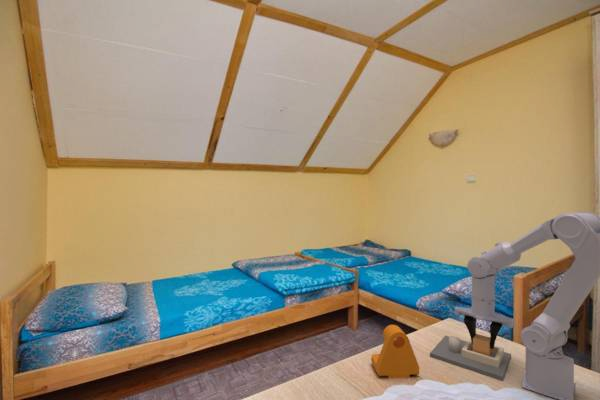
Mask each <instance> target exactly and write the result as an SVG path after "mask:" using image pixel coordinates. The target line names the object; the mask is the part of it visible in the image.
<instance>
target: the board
mask: <svg viewBox="0 0 600 400" xmlns="http://www.w3.org/2000/svg"><path fill="white" fill-rule="evenodd" d="M429 357H430V358H433V359H436V360H439V361H442V362H446V363H447V364H451V365H455V366H458V367H460V368H463V369H466V370H469V371H471V372H476V373H478V374H481V375H484V376H487V377H490V378H494V379H497V380H499V381H504V378H505V375H506V372H507V370H508V367H509V364H510V362H511V359H512V354H511V353H509V352H506V351H505V348H504V347H501V346H498V345H494V348H493V349H492V354H491V356H487V355H484V354H480V353H477V352H473V344H472V341H471V338H468V339H467V341H466V340H463V339H461V338H459V337H458V336H452V335H451V336H448V335H444V337H442V339H441V340H440V341H439V342H438V343H437V345H436V346H435V347H434V348H433V349H432V350H431V351H430V352H429Z"/></svg>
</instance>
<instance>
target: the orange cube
mask: <svg viewBox="0 0 600 400" xmlns="http://www.w3.org/2000/svg"><path fill="white" fill-rule="evenodd" d="M490 339H491V336H486V335H483V334H478V333H476V335H475V336H474V338H473V352H477V353H480V354H484V355H487V356H491V354H492V349H490Z"/></svg>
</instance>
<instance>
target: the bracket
mask: <svg viewBox="0 0 600 400" xmlns="http://www.w3.org/2000/svg"><path fill="white" fill-rule="evenodd" d="M382 337H383V341H384V342H383V344H382V347H381V350H380V352H379V353H374V354H371V364H372V366H373V368H374V370H375V372H376V374H377V375H378V376H379V377H380V376H386V377H387V378H388V379H405V378H410V375H419V374H420V365H419V363H418V360H417V357H416V355H415V352H414V349H413V346H412V344H411V342H410V339H409V337H408V336H407V334H406V333H405V331H403V330H402V329H401V327H399V326H398V325H396V324H389V325H387V326H386V327H385V328H384V330H383V332H382Z"/></svg>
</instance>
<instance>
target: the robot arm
mask: <svg viewBox="0 0 600 400" xmlns="http://www.w3.org/2000/svg"><path fill="white" fill-rule="evenodd" d="M549 240H561V242H563V243H564V244H565V245H566V246H567V247H568V248H569V249H570V251H571V253H572V254H573V256H574V258H575V259H574V261H573V262H572V264H571V266H570V267H569V269H568V270H567V272H566V274H565V275H564V277H563V279H562V280H561V282H560V283H559V285H558V287H557V288H556V290H555V292H554V294H552V296H551V298H550V299H549V300H548V303H547V304H546V306H545V308H544V310H543V311H542V312H541V313H540V314H539V315H538V316H537V317H536V318H535V319H534V320H533V321H532V323H531V324H530V325H529V326H526V327H524V328H522V330H521V331H520V336H519V337H520V341H521V343H522V345H523V346H524V348H525V372H524V375H523V378H522V382H521V387H522V388H523V389H526V390H529V391H531V392H535V393H538V394H540V395H544V396H547V397H550V398H553V399H556V400H558V399H559V400H575V399H574V395H575V392H576V391H577V389H576V383H575V381H574V380H575V378H574V377H575V375H574V374H575V370H574V369H575V367H574V366H575V362H574V361H575V359H574V358H572V357H569V356H566V355H565V354H564V352H563V349H562V348H563V347H562V346H564V345H566V343H567V342H568V331H569V329H570V328H571V324H570V322H571V321H572V320H573V318H574V316H575V315H576V313H577V312H578V311H579V309H580V308H581V306H582V305H583V303H584V302H585V300H586V298H587V297H588V296H589V294H590V293H591V291H592V289H593V288H594V287H595V285H596V284H597V282H598V280H599V279H600V216H599V215H597V214H596V213H593V212H590V211H580V212H564V213H561V214H558V215H557V216H556V217H555V218H550V219H547V220H546V221H544V222H543V223H541V224H539V225H538V226H536V227H534V228H533V229H532V230H530V231H528V232H527V233H525V234H524V235H522V236H521V237H519V238H518V239H516V240H514V241H513V242H508V241H503V242H501V241H499V242H496V243H495V244H494V246H495V247H493V248H491V249H490V250H488V251H483V252H481V256H473V257H471V258H470V259H469V260H468V262H467V270H468V272H469V274H470V275H471V308H469V307H462V306H461V307H460V306H455V308H454V315H456V316H462V317H464V318H463V323H464V324H465V328H467V330H468V333H469V336H470V337H469V338H470V339H471V341H472V344H473V338H474V336H475V335H476V334H477V331H476V329H477V320H479V321H485V322H490V325H489V332H490V338H491V339H490V349H493V348H494V345H495V344H496V340H497V336H498V334H499V333H500V331H501V329H502V328H503V326H506V327H508V328H510V329H513V328H514V326H515V323H514V322H515V319H514V318H512V317H508V316H504V315H501V314H498V313H495V312H496V311H495V307H496V299H495V298H496V295H495V294H496V293H495V292H496V291H495V290H496V276H497V275H498V273H499V272H500V271H502V270H504V269H507V267H509V266H511V265H513V264H515V263H517V262H519V261H520V260H521V256H522V253H525V252H526V251H529V250H531V249H533V248H534V247H535V248H536V247H538V246H539V245H541V244H543V243H545V242H547V241H549ZM495 346H496V345H495Z"/></svg>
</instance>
